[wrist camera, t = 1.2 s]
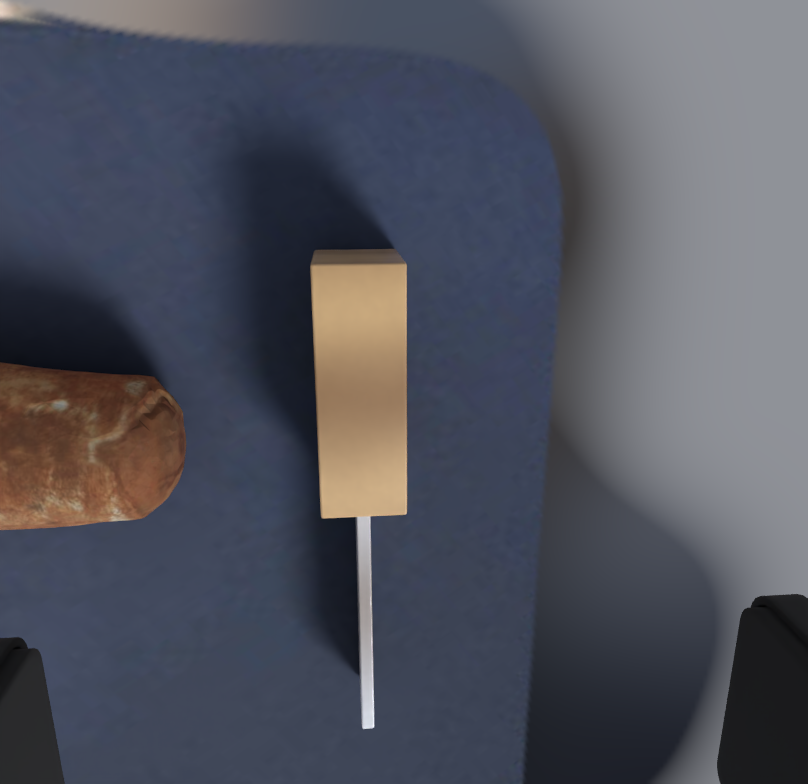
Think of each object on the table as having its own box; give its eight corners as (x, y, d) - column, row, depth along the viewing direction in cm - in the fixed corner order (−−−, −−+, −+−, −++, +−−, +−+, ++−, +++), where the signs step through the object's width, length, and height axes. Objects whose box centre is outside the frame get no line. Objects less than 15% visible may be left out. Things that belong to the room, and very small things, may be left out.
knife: (399, 676, 25) (407, 745, 22) (331, 680, 25) (330, 751, 22) (396, 248, 21) (406, 262, 18) (313, 249, 21) (309, 264, 18)
